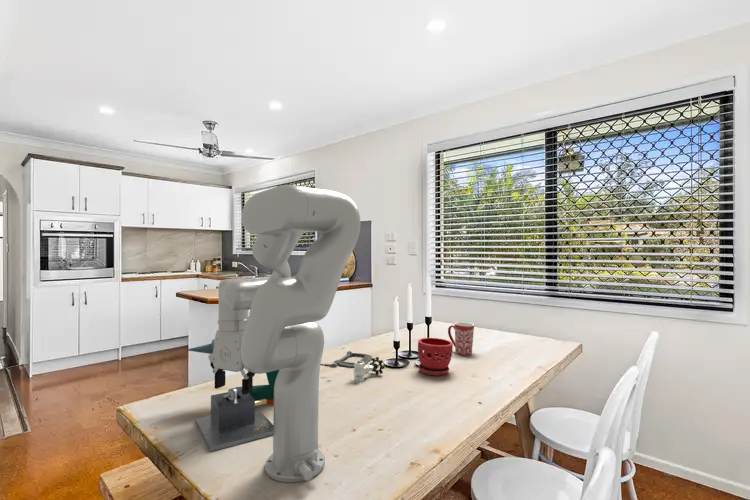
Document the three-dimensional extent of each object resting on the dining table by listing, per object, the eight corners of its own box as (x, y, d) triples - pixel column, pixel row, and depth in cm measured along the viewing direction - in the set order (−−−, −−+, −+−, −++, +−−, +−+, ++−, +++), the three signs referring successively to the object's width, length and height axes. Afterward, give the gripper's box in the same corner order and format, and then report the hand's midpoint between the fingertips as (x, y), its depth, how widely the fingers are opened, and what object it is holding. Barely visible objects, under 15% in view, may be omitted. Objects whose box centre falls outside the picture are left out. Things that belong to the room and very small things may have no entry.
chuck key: (226, 424, 101) (227, 394, 101) (220, 423, 102) (220, 392, 102) (243, 415, 107) (244, 386, 107) (237, 414, 108) (238, 385, 108)
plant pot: (437, 380, 141) (437, 347, 140) (410, 371, 150) (410, 340, 150) (459, 372, 149) (459, 341, 149) (432, 364, 159) (433, 335, 159)
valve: (361, 384, 135) (384, 376, 144) (361, 365, 135) (384, 358, 144) (348, 380, 140) (371, 372, 149) (348, 361, 140) (371, 355, 149)
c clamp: (355, 372, 149) (355, 365, 149) (317, 366, 157) (317, 359, 157) (377, 359, 168) (377, 352, 168) (342, 354, 175) (342, 348, 175)
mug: (478, 353, 177) (478, 323, 176) (467, 357, 170) (467, 326, 170) (454, 348, 185) (454, 319, 185) (443, 351, 179) (443, 322, 179)
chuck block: (281, 432, 99) (281, 405, 99) (210, 451, 90) (210, 421, 90) (258, 408, 114) (258, 384, 114) (195, 422, 105) (195, 396, 105)
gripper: (198, 325, 104) (198, 389, 104) (248, 331, 97) (248, 400, 97) (220, 320, 111) (220, 381, 111) (268, 325, 104) (268, 390, 104)
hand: (233, 389), depth 104 cm, fingers open, 9 cm apart
